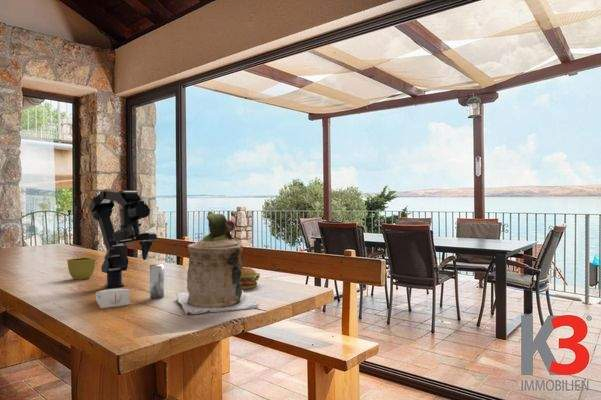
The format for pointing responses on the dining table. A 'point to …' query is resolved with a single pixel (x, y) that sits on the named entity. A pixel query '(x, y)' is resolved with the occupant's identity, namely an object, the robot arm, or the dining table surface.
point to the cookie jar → (215, 272)
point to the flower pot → (81, 267)
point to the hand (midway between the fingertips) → (134, 261)
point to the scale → (113, 297)
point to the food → (248, 278)
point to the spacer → (156, 281)
